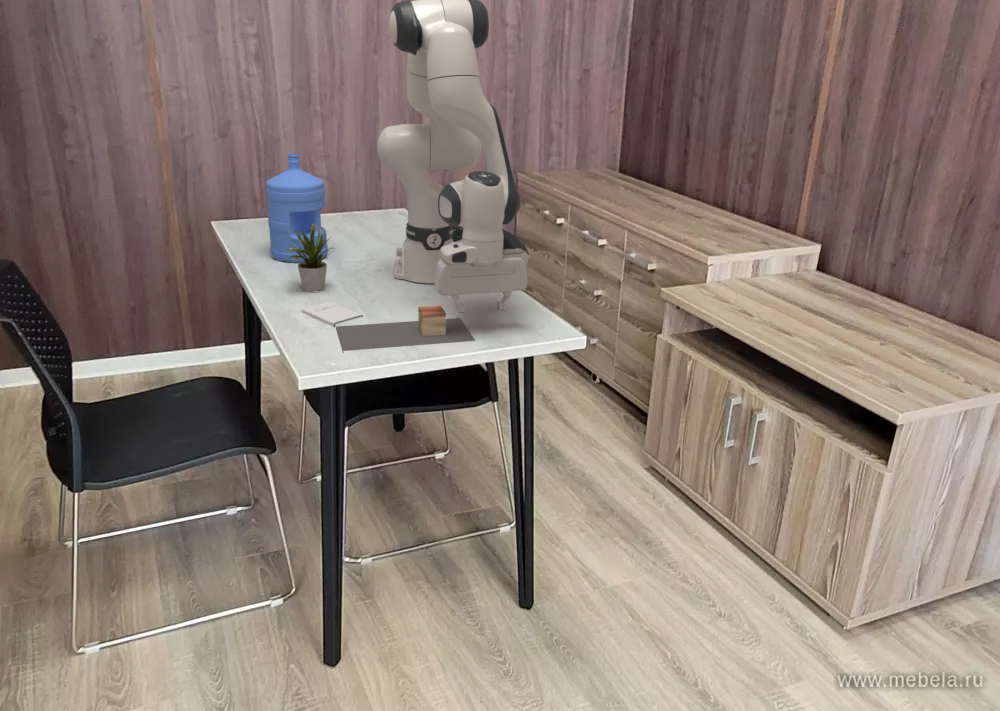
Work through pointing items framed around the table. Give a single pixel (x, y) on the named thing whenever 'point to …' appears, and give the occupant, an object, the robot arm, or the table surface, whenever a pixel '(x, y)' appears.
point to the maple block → (432, 320)
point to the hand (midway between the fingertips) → (480, 310)
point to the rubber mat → (398, 335)
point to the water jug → (294, 209)
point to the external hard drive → (331, 313)
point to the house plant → (311, 261)
